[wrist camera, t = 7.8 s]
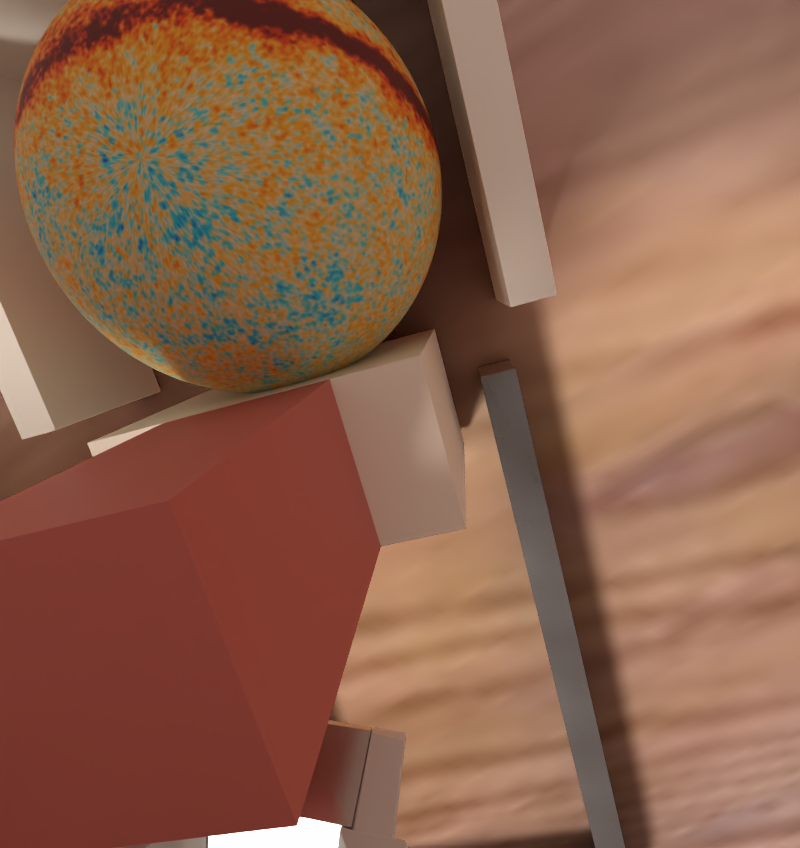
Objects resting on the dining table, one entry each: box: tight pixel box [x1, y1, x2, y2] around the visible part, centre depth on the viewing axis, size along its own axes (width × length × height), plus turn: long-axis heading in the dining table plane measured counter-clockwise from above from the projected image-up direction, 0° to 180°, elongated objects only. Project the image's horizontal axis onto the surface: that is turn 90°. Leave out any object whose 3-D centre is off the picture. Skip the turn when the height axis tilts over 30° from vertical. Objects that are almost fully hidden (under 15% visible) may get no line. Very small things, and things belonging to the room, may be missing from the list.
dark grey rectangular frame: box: [478, 359, 625, 848], centre depth 15 cm, size 9×17×2 cm, turn 16°
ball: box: [14, 0, 442, 393], centre depth 10 cm, size 7×7×7 cm
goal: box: [0, 0, 557, 439], centre depth 11 cm, size 11×8×5 cm
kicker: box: [0, 329, 466, 848], centre depth 9 cm, size 6×3×10 cm, turn 106°
